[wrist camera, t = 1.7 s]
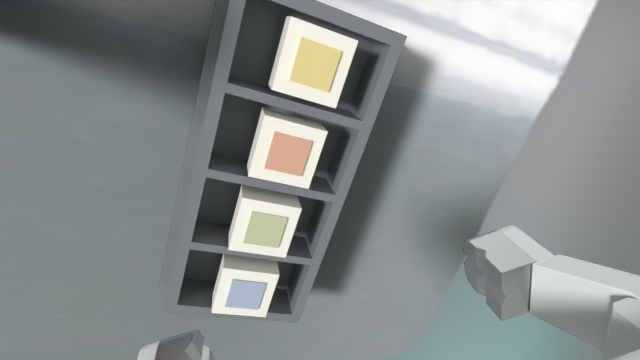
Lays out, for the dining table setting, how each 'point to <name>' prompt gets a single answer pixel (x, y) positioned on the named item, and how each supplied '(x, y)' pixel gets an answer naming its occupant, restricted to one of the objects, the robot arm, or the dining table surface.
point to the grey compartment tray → (237, 138)
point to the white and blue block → (244, 286)
